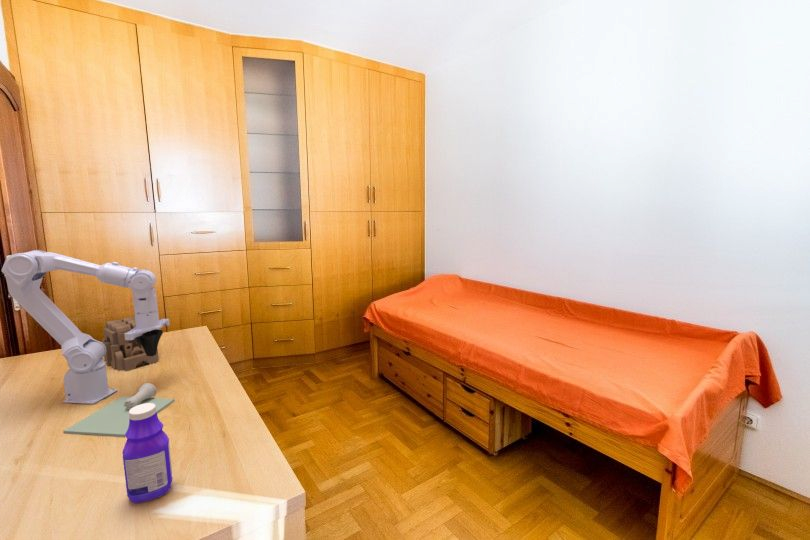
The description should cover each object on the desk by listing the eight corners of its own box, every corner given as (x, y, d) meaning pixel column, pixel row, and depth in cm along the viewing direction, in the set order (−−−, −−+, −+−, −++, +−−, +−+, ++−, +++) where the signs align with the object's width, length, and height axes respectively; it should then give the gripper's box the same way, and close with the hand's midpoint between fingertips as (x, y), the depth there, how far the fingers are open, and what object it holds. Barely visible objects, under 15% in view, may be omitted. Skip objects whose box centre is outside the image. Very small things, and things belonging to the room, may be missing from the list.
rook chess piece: (157, 397, 107) (136, 414, 100) (142, 394, 107) (120, 411, 100) (157, 383, 106) (136, 399, 99) (142, 380, 106) (120, 396, 99)
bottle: (174, 477, 76) (166, 396, 73) (173, 495, 71) (163, 410, 68) (130, 489, 72) (119, 405, 69) (125, 510, 67) (113, 420, 65)
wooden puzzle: (97, 358, 137) (90, 309, 134) (143, 347, 148) (138, 301, 145) (117, 374, 124) (110, 319, 121) (166, 360, 135) (161, 310, 132)
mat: (63, 433, 91) (63, 430, 90) (122, 398, 107) (122, 396, 107) (124, 436, 89) (124, 434, 89) (174, 401, 106) (174, 399, 106)
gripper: (138, 318, 103) (144, 365, 105) (176, 305, 117) (180, 347, 119) (115, 318, 104) (121, 364, 106) (155, 304, 118) (160, 346, 120)
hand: (151, 355), depth 113 cm, fingers closed
